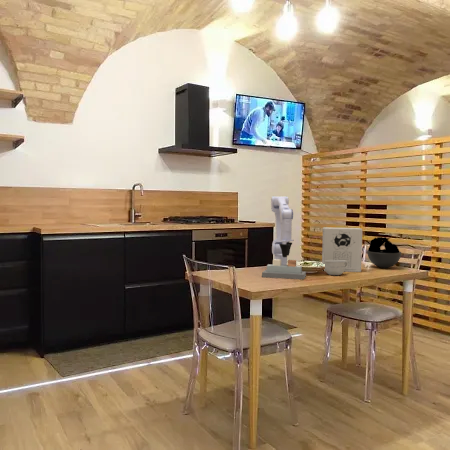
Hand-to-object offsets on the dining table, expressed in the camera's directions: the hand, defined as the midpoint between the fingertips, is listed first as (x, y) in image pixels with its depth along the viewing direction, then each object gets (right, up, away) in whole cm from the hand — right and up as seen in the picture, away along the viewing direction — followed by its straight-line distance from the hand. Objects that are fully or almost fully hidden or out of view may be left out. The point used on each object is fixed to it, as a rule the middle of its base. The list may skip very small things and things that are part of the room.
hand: (285, 256), depth 255 cm
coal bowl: (+65, -9, +34) cm, 74 cm away
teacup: (+29, -11, +5) cm, 31 cm away
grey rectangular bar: (-1, -8, -5) cm, 9 cm away
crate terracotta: (+3, -5, -6) cm, 8 cm away
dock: (-1, -11, -5) cm, 12 cm away
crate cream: (-5, -5, -4) cm, 8 cm away
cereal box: (+35, -10, +20) cm, 42 cm away
